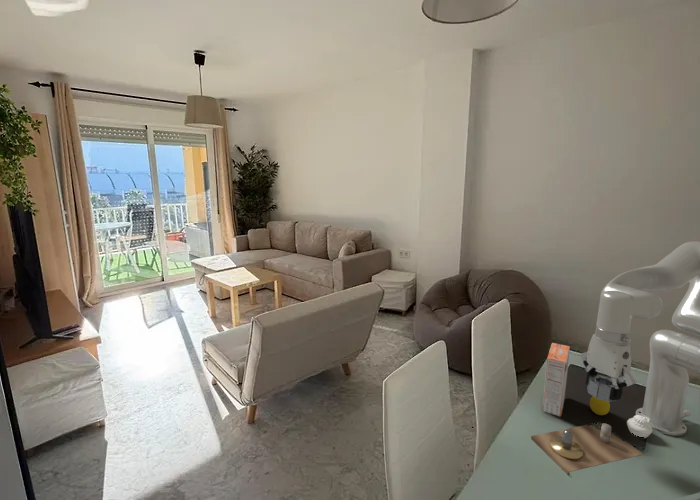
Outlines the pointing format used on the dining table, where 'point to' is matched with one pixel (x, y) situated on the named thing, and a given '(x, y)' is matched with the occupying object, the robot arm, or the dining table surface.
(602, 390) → the ring
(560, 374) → the cracker box
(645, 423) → the muffin
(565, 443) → the hub
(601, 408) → the lemon
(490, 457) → the dining table surface
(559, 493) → the dining table surface
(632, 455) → the board
